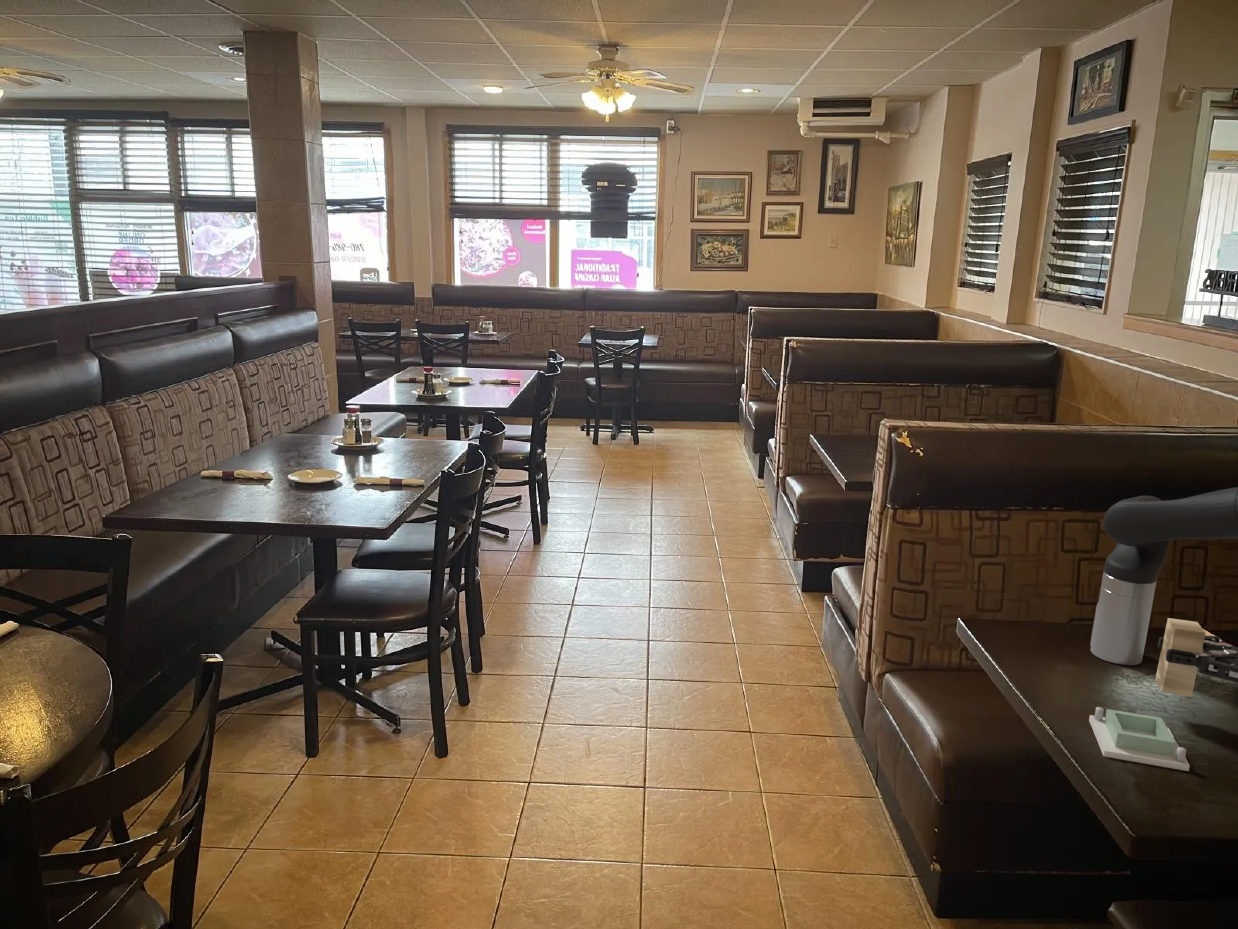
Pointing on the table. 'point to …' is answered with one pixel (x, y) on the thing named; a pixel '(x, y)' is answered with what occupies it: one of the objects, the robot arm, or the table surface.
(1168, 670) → the maple block
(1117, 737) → the socket plate
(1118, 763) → the table surface
